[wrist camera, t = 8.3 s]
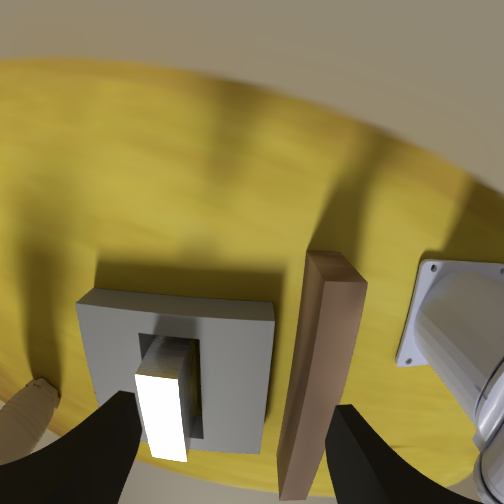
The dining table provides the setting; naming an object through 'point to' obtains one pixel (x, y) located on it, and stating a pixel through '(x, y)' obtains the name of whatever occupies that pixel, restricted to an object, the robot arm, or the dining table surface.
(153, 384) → the white wooden block
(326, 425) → the brown long flat block
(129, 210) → the dining table surface
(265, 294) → the dining table surface
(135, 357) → the slotted grey plate
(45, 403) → the handle
